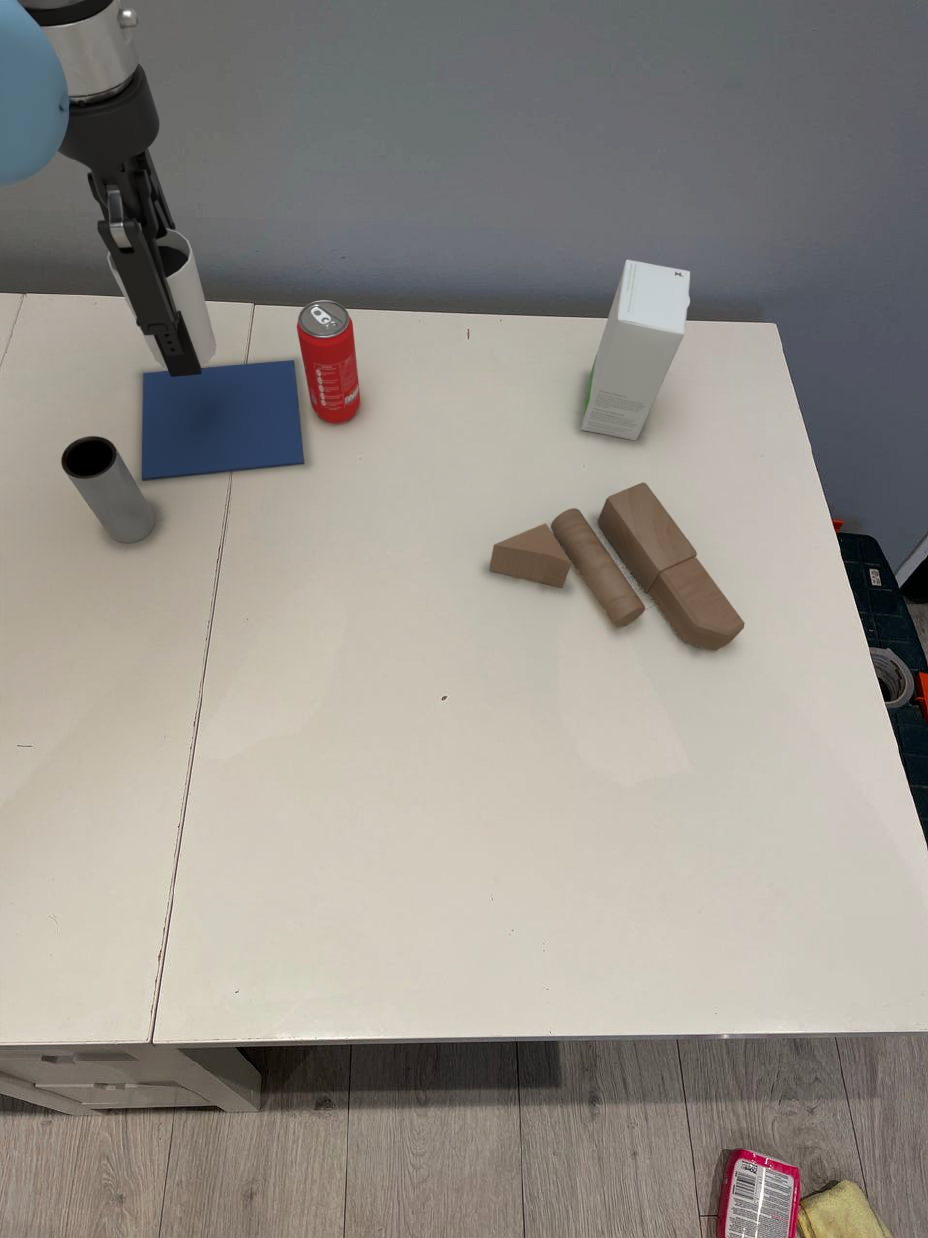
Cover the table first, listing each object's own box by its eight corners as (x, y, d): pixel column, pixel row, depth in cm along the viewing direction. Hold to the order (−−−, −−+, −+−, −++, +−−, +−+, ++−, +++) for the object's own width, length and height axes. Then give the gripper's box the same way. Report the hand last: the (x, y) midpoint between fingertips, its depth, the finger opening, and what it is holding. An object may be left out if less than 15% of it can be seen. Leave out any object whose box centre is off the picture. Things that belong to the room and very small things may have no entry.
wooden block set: (643, 466, 71) (756, 617, 64) (627, 500, 76) (731, 644, 69) (488, 529, 67) (593, 699, 60) (483, 561, 72) (579, 720, 65)
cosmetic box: (589, 375, 83) (624, 254, 69) (647, 387, 83) (693, 267, 69) (579, 433, 79) (614, 317, 65) (640, 444, 79) (687, 331, 65)
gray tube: (116, 501, 72) (72, 431, 63) (161, 507, 72) (124, 439, 63) (100, 539, 70) (51, 474, 61) (146, 546, 70) (105, 482, 61)
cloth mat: (142, 480, 74) (141, 478, 73) (144, 375, 79) (143, 372, 79) (304, 463, 76) (303, 461, 75) (294, 362, 81) (293, 359, 81)
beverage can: (331, 434, 77) (317, 347, 67) (302, 404, 79) (284, 314, 68) (370, 410, 79) (363, 321, 68) (341, 381, 81) (329, 290, 70)
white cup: (223, 370, 68) (194, 278, 59) (148, 379, 67) (107, 286, 58) (218, 318, 70) (189, 222, 61) (146, 326, 69) (106, 229, 60)
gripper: (141, 160, 44) (230, 421, 65) (144, -9, 52) (223, 272, 73) (8, 167, 43) (142, 429, 64) (32, -6, 51) (144, 278, 72)
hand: (185, 345), depth 68 cm, fingers closed on white cup, 6 cm apart
